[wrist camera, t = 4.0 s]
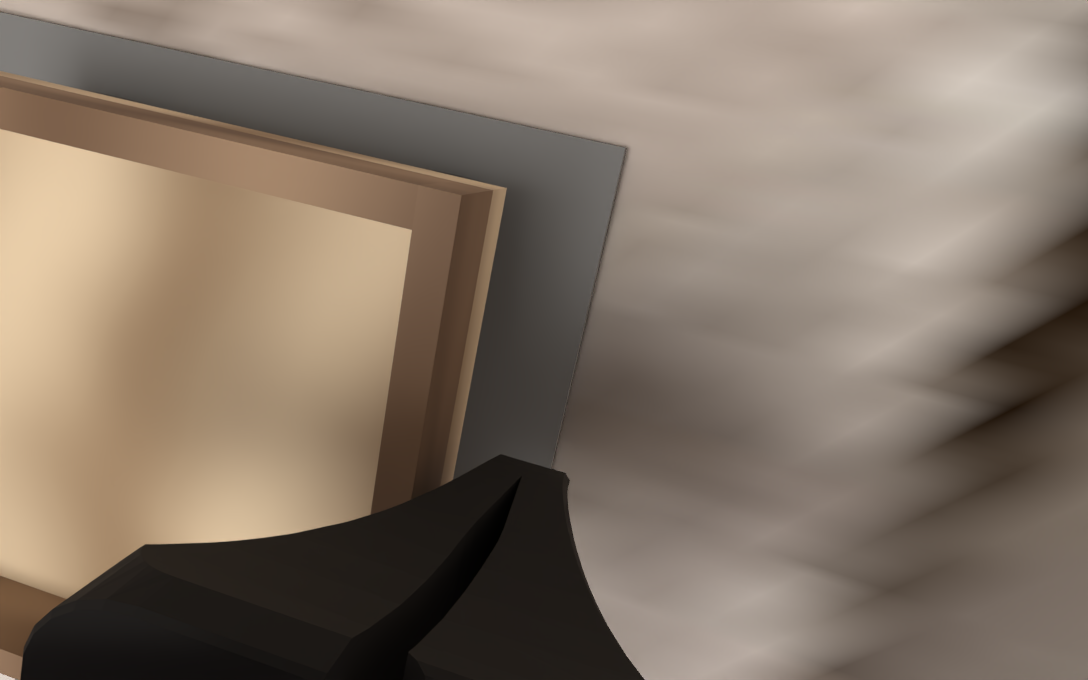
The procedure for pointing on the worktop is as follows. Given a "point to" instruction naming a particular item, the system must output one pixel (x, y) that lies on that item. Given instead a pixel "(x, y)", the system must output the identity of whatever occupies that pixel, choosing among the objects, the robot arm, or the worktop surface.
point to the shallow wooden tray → (215, 335)
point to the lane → (421, 141)
